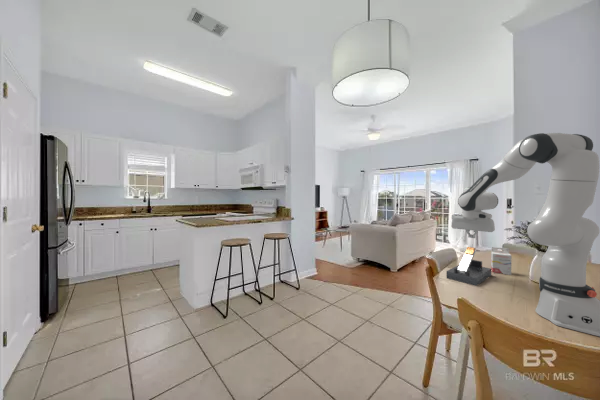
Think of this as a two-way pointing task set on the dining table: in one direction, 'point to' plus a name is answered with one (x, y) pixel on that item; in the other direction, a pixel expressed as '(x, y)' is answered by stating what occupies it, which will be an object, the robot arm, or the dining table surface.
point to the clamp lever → (466, 260)
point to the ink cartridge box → (501, 261)
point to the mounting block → (470, 273)
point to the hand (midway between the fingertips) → (471, 237)
